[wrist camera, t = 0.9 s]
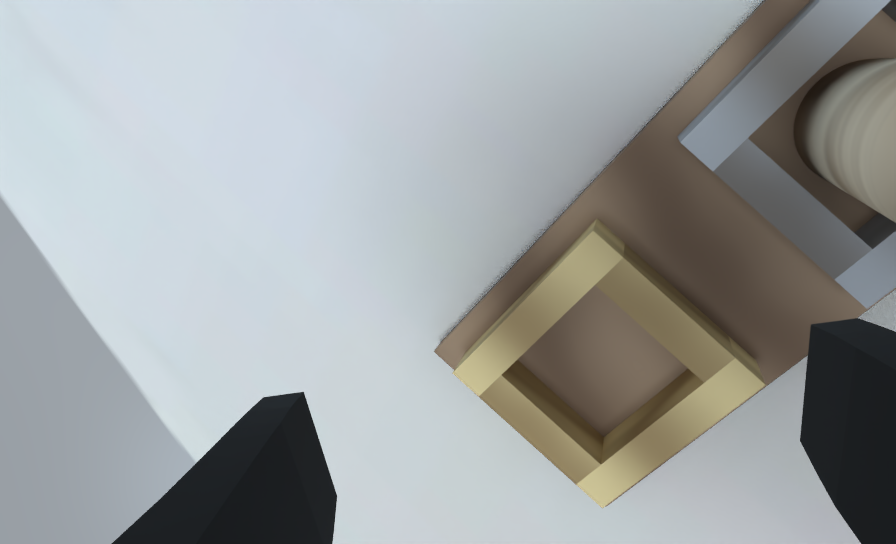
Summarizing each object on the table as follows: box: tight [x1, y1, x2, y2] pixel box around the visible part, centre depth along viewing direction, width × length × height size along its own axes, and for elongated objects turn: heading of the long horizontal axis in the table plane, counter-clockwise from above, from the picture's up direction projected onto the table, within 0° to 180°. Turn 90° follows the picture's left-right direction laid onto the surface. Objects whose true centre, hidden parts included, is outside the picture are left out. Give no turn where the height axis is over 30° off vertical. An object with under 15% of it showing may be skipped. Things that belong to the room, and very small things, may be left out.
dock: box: [434, 0, 896, 508], centre depth 23 cm, size 22×10×3 cm, turn 140°
